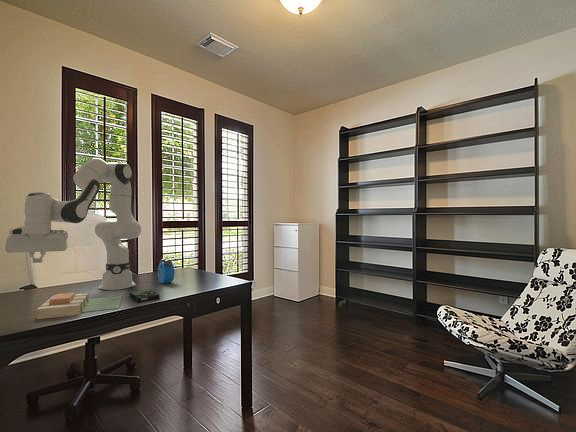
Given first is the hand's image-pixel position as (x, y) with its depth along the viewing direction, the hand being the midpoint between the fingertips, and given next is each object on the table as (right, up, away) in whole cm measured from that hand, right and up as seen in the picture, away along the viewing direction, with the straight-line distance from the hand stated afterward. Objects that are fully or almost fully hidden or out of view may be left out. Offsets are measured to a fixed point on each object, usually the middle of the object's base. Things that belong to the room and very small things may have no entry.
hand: (37, 262), depth 126 cm
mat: (+20, -21, +13) cm, 32 cm away
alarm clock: (+30, -22, +59) cm, 70 cm away
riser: (+9, -21, +4) cm, 23 cm away
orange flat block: (+8, -17, +4) cm, 19 cm away
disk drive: (+34, -23, +25) cm, 47 cm away
